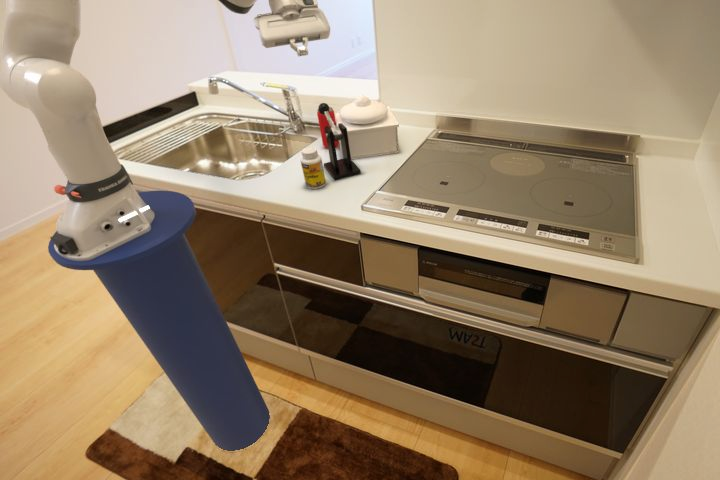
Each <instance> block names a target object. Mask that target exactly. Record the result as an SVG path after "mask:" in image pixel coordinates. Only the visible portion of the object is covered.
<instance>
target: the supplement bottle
mask: <svg viewBox="0 0 720 480" xmlns="http://www.w3.org/2000/svg"><path fill="white" fill-rule="evenodd" d="M300 164H301V169H302V173H303V178H304V183H305V186H306V187H307V188H308V189H311V190H318V189H321V188H323V187H324V186H326V183H327V182H326V181H327V180H326V175H325V170H324V169H325V168H324V163H323V159H322V156H321V155H320V154H319V153H318V149H317V148H316V147H313V146H312V147H311V146H309V147H305V148H303V149H302V150H301V157H300Z"/></svg>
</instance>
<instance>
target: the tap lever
mask: <svg viewBox="0 0 720 480" xmlns="http://www.w3.org/2000/svg"><path fill="white" fill-rule="evenodd" d="M329 107H330V106H329V104H328V103H326V102H321V103H320V104H319V105H318V108H317V110H319V112H320V113H321V114H322V115H325V117H326V119H327V121H328V123H329V125H330V127H331V130H332V131H333V137H334V141H339V140H342V133H341V131H340V129H339V127H338V126H337V127H335V125H334V123H333V121H332V119H331V117H330V115H329V111H330V108H329Z"/></svg>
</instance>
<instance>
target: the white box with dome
mask: <svg viewBox="0 0 720 480" xmlns="http://www.w3.org/2000/svg"><path fill="white" fill-rule="evenodd" d="M334 115H335V121H336V127H337V126H338V124H340V123H342V124H343V125H344V126H345V127H346V128H347V134H348V141H349V148H350V155H351V160H355V159H363V158H371V157H378V156H385V155H390V154H391V155H392V154H399V153H400V152H399V137H398V136H399V135H398V128H400V124H399V122H398V120H397V118H396V116H395V115H394V113H393V111H392V109H391V107H390V105H386V104H384V103H383V102H380V101H377V100H372V99H370V97H368V96H366V95H365V94H363V95H359V96H357V97H356V98H355V100H354V101H353V102H350V103H348V104H345V105H344V106H343V107H341V108H340V110H339V111H336V112H335V113H334ZM338 145H339V149H340V154H341V159H343V152H342V146H341V140H339V144H338Z"/></svg>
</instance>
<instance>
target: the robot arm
mask: <svg viewBox="0 0 720 480" xmlns="http://www.w3.org/2000/svg"><path fill="white" fill-rule="evenodd" d="M257 1H258V0H218V2H220V3H221V4H222V6H224V7H225V8H226V9H228V10H229V11H230V12H232V13H235V14H239V15H246V14H248V13H249V12H250V11H251V9H252V8H253V6H254V5H255V3H256V2H257ZM268 5H269V8H270V11H271V12H268V13H260V14H257V15H256V16H255V17H254V18H253V25H254V27H255V28H256V30H258V33H259V38H260V42H261V45H262V46H263V47H264V48H265V49H270V48H276V47H283V46H288V45H289V47H290V49H292V50H293V51H294V52H296V55H297V57H304V56H308V55H309V50H308V45H309V42H315V41H321V40H328V39H329V37H330V35H331V26H330V22H329V21H328V19H327V17H326V15H325V13H324V11H323V10H322V9H321V8H319V3H318V0H268ZM80 36H81V0H5V18H4V27H3V33H2V40H1V46H0V88H1V90H2V91H3V92H4V93H5V94H6V96H7V97H8V98H9V99H10V100H11V101H13V102H14V103H16V104H17V105H19V106H21V107H22V108H25V109H28V110H29V111H30V112H31V113H32V114H33V115H34V117H35V118H36V120H37V122H38V125H39V126H40V128H41V132H42V133H43V136H44V138H45V140H46V144H47V148H48V151H49V152H50V154H51V156H52V157H53V159H54V160H55V163H57V165H58V166H59V168H60V170H61V171H62V173H63V174H64V176H65V177H66V179H67V181H66V186H64V185H61V184H57V185H55V186H54V187H53V190H54V192H55V193H56V194H58V195H62V196H65V195H66V196H67V198H68V201H67V203H66V204H65V206H64V209H63V210H62V212H61V213H60V215H59V217H58V219H57V220H56V223H55V228H56V231H57V232H58V233H57V234H56V235H54V234H53V235H54V236H53V235H52V236H50V237H49V238H50V240H52V241H53V242H54V244H55V245H54V248H55V250H56V252H57V253H58V254H59V255H60V256H62V257H64V258H66V259H69V260H74V261H88V260H91V259H94V258H96V257H98V256H100V255H102V254H104V253H106V252H108V251H110V250H112V249H114V248H116V247H118V246H120V245H122V244H124V243H126V242H128V241H130V240H133V239H135V238H137V237H139V236H141V235H143V234H145V233H147V232H149V231H150V230H151V223H152V221H153V220H154V217H155V214H154V212H153V211H152V210H151V209H150V208H149V206H147V205H146V204H145V202H144V201H143V200H142V199H141V197H140V196H139V194H138V193H139V192H138V191H137V190H136V189H135V187H134V183H133V181H132V179H131V176H130V174H129V173H128V171H127V170H126V168H125V166H124V165H123V164H122V163H121V162H120V161H119V159H118V157H117V155H116V153H115V151H114V150H113V147H112V145H111V144H110V141H109V140H108V137H107V135H106V133H105V130H104V127H103V125H102V122H101V118H100V115H99V114H100V113H99V111H98V108H97V94H96V91H95V88H94V86H93V84H92V83H91V82H90V81H89V80H88V78H86V76H84V75H83V74H82V73H81V72H79V70H77V69H76V68H75V67H73V66H71V62H72V57H73V54H74V49H75V46H76V43H77V41H78V40H79V38H80ZM297 44H302V46H298V45H297Z"/></svg>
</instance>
